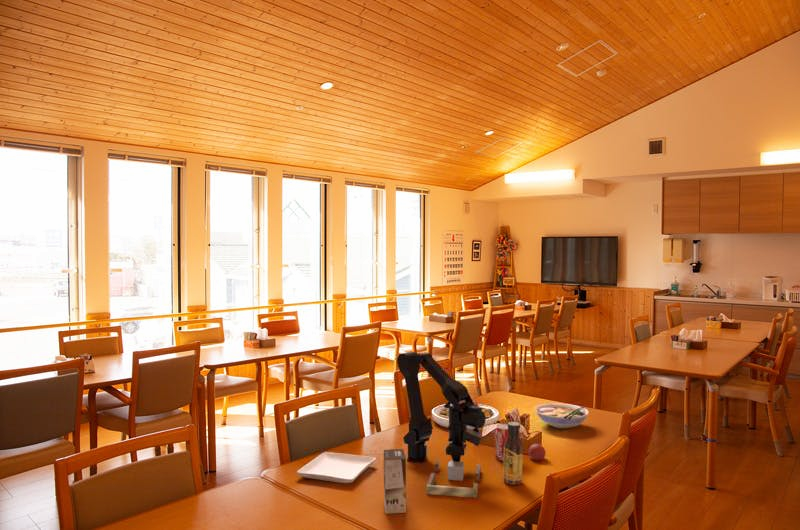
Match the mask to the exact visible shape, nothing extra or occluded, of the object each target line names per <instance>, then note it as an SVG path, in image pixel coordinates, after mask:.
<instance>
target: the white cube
mask: <svg viewBox="0 0 800 530" xmlns="http://www.w3.org/2000/svg"><path fill="white" fill-rule="evenodd" d="M464 467H465V463H464V461H460V462H456V461H453V460H450V461H448V465H447V480H449V481H450V480H451V481H461V482H462V481H464V477H465V468H464Z"/></svg>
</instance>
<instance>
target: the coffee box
mask: <svg viewBox="0 0 800 530" xmlns="http://www.w3.org/2000/svg"><path fill="white" fill-rule="evenodd" d="M406 469H407V457H406V454H405V450H404V449H403V448H390V449H383V503H384V505H383V506H384V513H385V514H386V515H388V514H406V513H407V489H406V488H407V470H406Z"/></svg>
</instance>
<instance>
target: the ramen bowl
mask: <svg viewBox="0 0 800 530" xmlns="http://www.w3.org/2000/svg"><path fill="white" fill-rule="evenodd" d="M585 407H586V404H584V405H582V406H579V405H574V404H570V403H560V402H559V403H543V404H540V405H539V404H538V405H536V406H535V407H534V410H535V412H536V414H537V415H538V417H539V419H540V420H541V421H542V422H543V423H545V424H547V425H549V426H552V427H553V428H554V429H557V430H558V429H559V430H569V429H570V428H574V427H576V426H579V425H580V424H582V423H583V422H584V421H585V420H586V418H587V416H588V414H589V413H590V412H589V410H588V409H587V408H585Z"/></svg>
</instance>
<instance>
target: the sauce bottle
mask: <svg viewBox="0 0 800 530" xmlns="http://www.w3.org/2000/svg"><path fill="white" fill-rule="evenodd" d="M507 425H508V436H507V439H506V442H505V445H504V457H503V461H502V462H503V463H502V464H503V465H502V469H503V470H502V477H503V478H502V480H503V482H504V483H505V484H507V485H511V486H517V485H520V484H522V482H523V481H522V479H523V457H524V456H523V455H524V454H523V453H524V452H523V443H522V440H521V438H520V429H521V423H520V422H517V421H509V422H507Z"/></svg>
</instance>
